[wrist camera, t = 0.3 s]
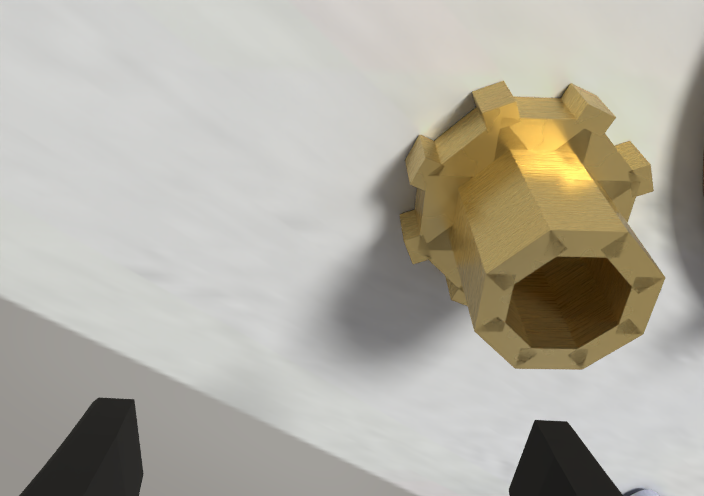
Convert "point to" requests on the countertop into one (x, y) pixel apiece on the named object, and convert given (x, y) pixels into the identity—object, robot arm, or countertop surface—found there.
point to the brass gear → (536, 226)
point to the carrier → (703, 175)
